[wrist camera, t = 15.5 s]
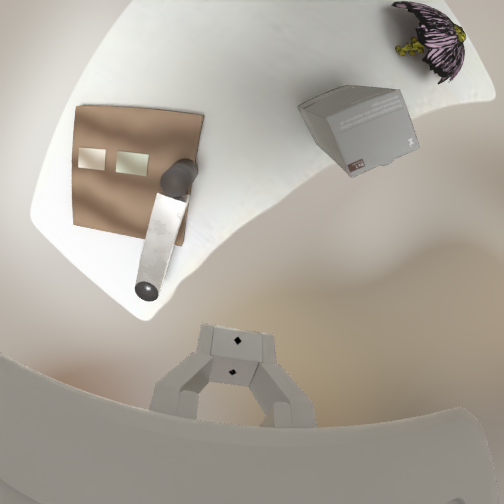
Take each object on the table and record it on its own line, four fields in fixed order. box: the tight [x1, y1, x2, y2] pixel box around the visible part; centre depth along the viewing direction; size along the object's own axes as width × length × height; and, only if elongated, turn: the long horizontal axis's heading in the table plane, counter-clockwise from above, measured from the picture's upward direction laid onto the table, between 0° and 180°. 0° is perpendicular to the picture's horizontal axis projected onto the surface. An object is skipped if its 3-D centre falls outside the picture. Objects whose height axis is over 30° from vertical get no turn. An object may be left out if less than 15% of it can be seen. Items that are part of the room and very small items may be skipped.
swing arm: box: [135, 188, 190, 301], centre depth 40 cm, size 18×4×3 cm, turn 157°
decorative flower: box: [391, 1, 466, 84], centre depth 23 cm, size 15×12×15 cm
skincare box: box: [298, 85, 419, 178], centre depth 28 cm, size 8×7×16 cm
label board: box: [72, 106, 204, 246], centre depth 35 cm, size 20×21×8 cm
